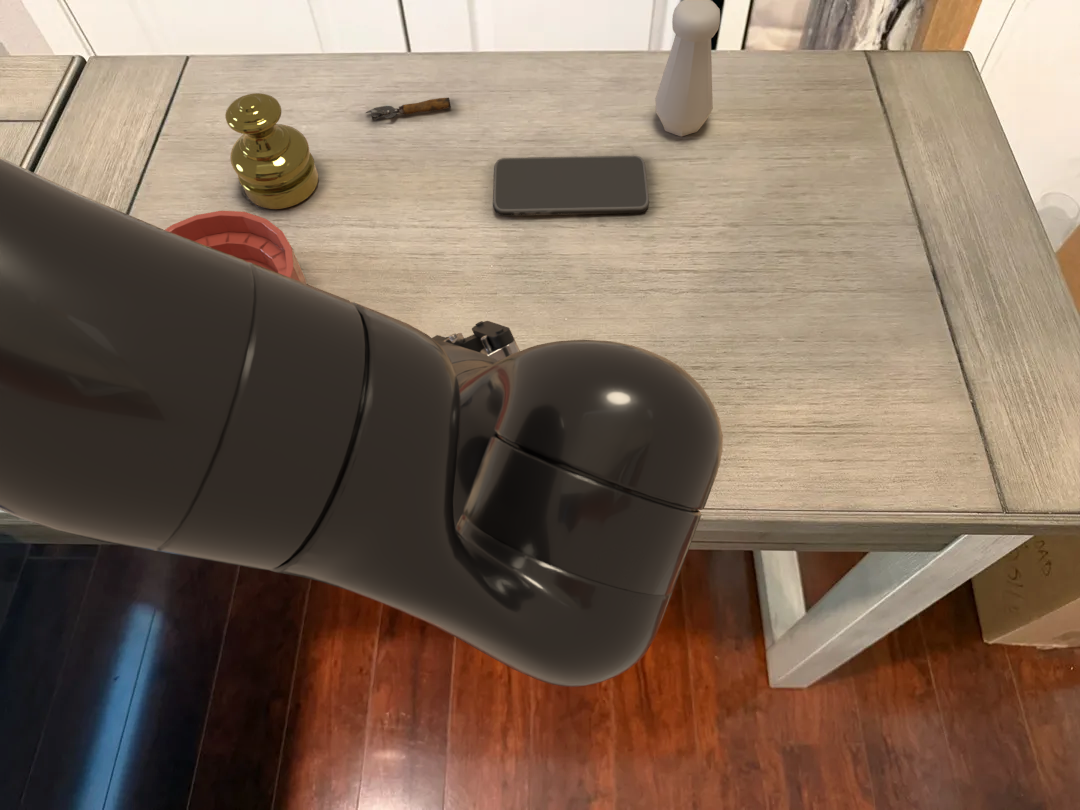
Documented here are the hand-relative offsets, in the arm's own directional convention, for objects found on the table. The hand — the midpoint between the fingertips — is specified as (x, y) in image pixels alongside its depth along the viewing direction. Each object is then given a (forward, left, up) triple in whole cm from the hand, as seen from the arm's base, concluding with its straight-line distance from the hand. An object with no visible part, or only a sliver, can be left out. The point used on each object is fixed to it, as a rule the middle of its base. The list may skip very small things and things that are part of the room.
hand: (383, 380), depth 56 cm
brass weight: (+22, +26, -12) cm, 36 cm away
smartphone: (+32, -1, -12) cm, 34 cm away
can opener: (+36, +19, -12) cm, 42 cm away
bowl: (+7, +22, -12) cm, 26 cm away
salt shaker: (+45, -8, -12) cm, 47 cm away
